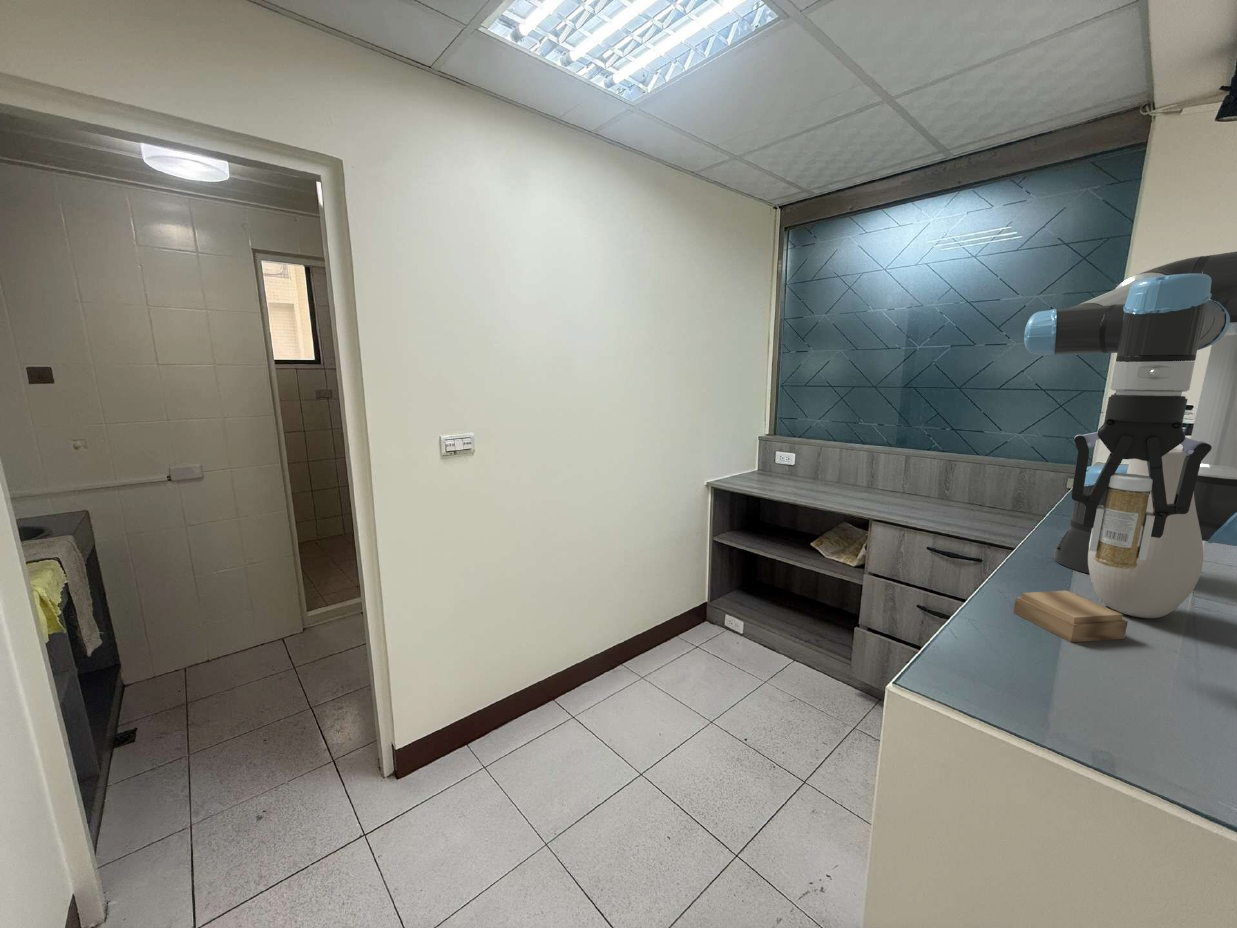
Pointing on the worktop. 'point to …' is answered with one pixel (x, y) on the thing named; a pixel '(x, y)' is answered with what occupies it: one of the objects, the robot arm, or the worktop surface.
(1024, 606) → the pedestal
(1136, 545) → the sprinkles bottle
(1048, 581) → the worktop surface
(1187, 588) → the vase
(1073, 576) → the worktop surface
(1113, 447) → the robot arm
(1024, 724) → the worktop surface
